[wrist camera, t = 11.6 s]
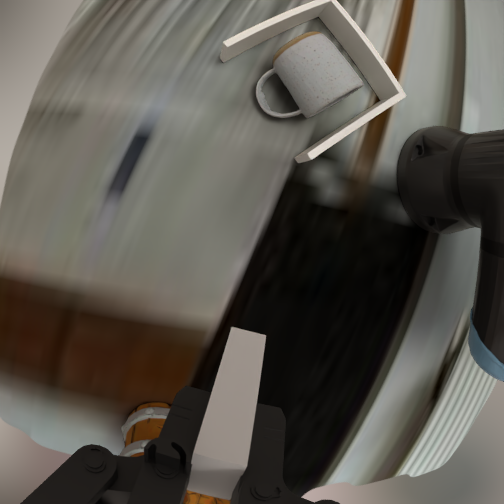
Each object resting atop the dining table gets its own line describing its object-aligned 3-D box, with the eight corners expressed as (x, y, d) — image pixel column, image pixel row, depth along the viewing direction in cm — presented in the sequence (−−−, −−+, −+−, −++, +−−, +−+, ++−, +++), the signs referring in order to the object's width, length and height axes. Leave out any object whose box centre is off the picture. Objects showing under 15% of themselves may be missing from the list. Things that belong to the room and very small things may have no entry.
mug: (131, 389, 38) (111, 470, 23) (245, 419, 41) (267, 499, 27) (118, 440, 39) (102, 516, 24) (221, 465, 42) (233, 540, 28)
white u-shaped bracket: (298, 163, 36) (311, 159, 32) (219, 58, 32) (223, 41, 28) (387, 103, 36) (406, 96, 32) (318, 10, 33) (331, -6, 28)
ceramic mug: (309, 45, 33) (331, 18, 26) (346, 97, 35) (376, 80, 28) (238, 82, 33) (247, 57, 26) (279, 138, 35) (298, 126, 28)
